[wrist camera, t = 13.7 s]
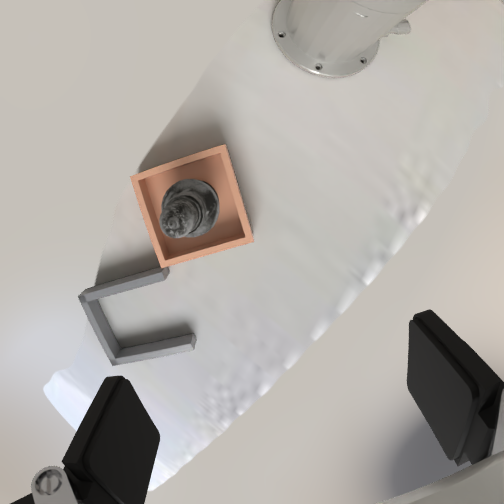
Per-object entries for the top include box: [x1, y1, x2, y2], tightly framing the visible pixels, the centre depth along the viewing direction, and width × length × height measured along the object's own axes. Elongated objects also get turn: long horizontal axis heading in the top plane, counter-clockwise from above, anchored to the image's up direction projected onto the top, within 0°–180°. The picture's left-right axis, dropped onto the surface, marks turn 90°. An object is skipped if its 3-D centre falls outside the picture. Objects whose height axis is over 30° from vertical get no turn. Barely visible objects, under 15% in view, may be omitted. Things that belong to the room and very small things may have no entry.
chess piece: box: [159, 179, 220, 238], centre depth 29 cm, size 6×6×12 cm
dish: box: [130, 144, 254, 268], centre depth 34 cm, size 10×10×3 cm
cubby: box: [78, 267, 196, 366], centre depth 38 cm, size 12×10×2 cm
